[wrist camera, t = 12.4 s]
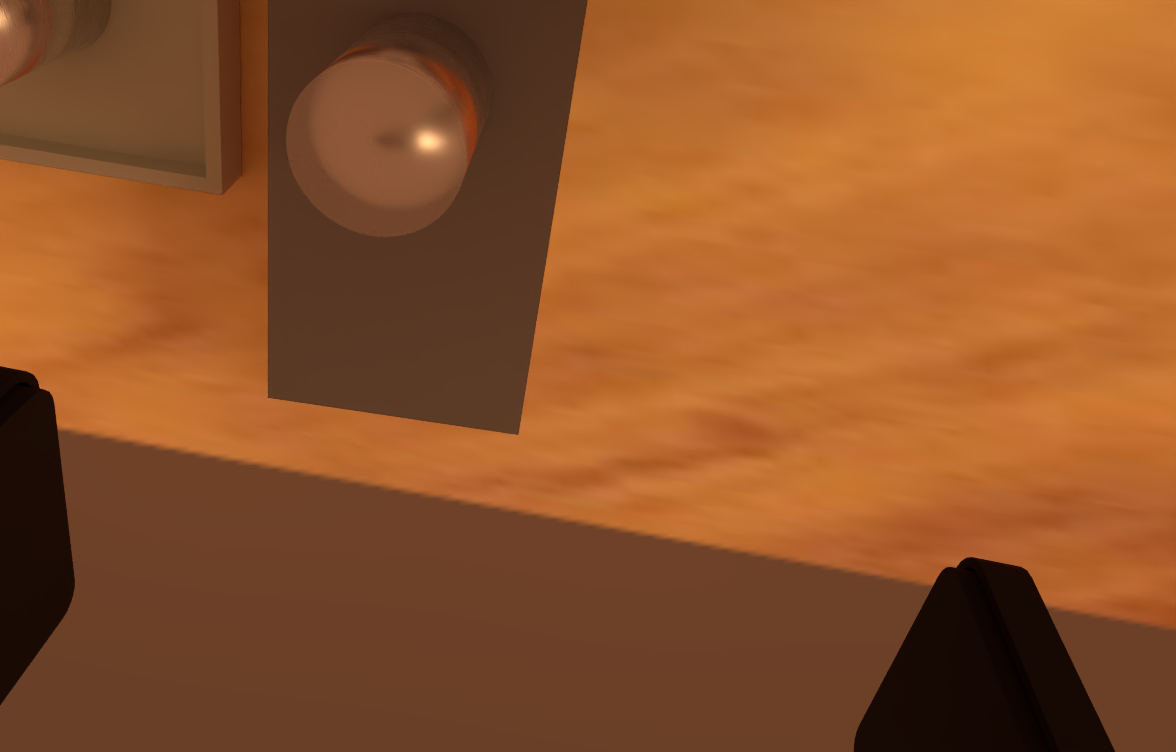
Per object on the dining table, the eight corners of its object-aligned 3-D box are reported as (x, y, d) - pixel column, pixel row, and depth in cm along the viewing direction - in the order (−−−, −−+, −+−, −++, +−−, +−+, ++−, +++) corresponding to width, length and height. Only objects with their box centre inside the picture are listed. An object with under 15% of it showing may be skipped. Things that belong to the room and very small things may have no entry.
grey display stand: (328, -401, 26) (268, -449, 21) (638, -337, 26) (646, -370, 22) (310, 324, 36) (267, 397, 32) (529, 358, 37) (518, 434, 32)
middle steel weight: (401, -21, 25) (348, 21, 20) (521, 79, 27) (500, 142, 21) (321, 97, 27) (253, 164, 22) (437, 186, 28) (400, 268, 23)
